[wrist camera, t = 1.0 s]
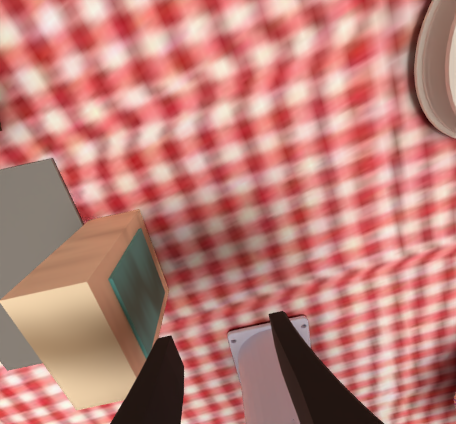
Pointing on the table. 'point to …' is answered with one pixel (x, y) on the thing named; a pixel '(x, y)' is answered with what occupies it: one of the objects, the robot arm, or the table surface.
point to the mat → (29, 239)
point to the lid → (438, 66)
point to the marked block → (94, 308)
